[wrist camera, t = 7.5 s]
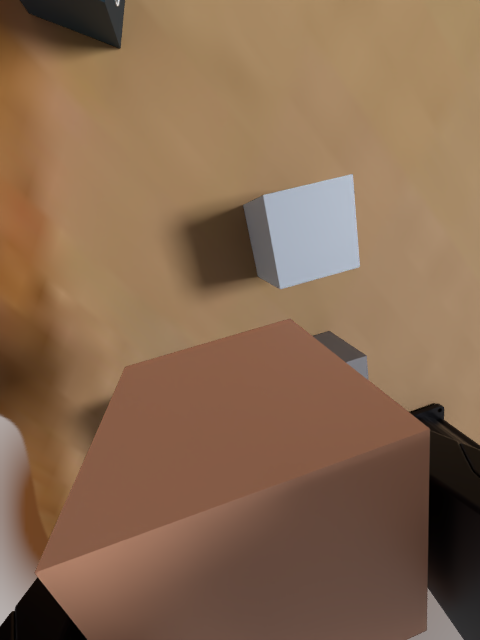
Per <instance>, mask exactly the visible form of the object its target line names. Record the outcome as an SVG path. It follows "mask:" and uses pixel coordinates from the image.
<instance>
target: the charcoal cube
mask: <svg viewBox="0 0 480 640" xmlns="http://www.w3.org/2000/svg"><path fill="white" fill-rule="evenodd" d="M313 337H314V338H315V339H317V340H318V341H319V342H321V343H322V344H323V345H324V346H326V347H327V348H328V349H329V350H331V351H332V352H333V353H334V354H336V355H337V356H338V357H340V358H341V359H342V360H343V361H345V362H346V363H347V364H348V365H350V366H351V367H352V368H354V369H355V370H356V371H357V372H359V373H360V374H361V375H362V376H364V377H365V378H366V379H367V380H368V368H367V356H366V355H365V354H363V353H362V352H360V351H359V350H357V349H356V348H354V347H353V346H351V345H350V344H348V343H347V342H345V341H344V340H342V339H341V338H339V337H338V336H336V335H335V334H333V333H332V332H330V331H327V332H324V333H321V334H318V335H314V336H313Z"/></svg>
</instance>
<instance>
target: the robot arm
mask: <svg viewBox="0 0 480 640" xmlns="http://www.w3.org/2000/svg"><path fill="white" fill-rule="evenodd" d="M411 414H412V415H413V416H414V417H416V418H417V419H418V420H419V421H421V422H422V423H423V424H424V425H426V426H427V427H428V428H430V459H429V522H428V584H427V587H428V589H429V590H430V591H431V593H432V595H433V596H434V597H435V599H436V600H437V602H438V603H439V605H440V606H441V607H442V609H443V610H444V612H445V613H446V615H447V616H448V617H449V619H450V620H451V622H452V623H453V625H454V626H455V628H456V629H457V630H458V632H459V633H460V635H461V636H462V638H463V639H464V640H480V445H478V444H477V443H476V442H474V441H473V440H471V439H470V438H469V437H467V436H466V435H464V434H463V433H462V432H460V431H459V430H457V429H456V428H455V427H453V426H452V425H450V424H449V423H448V422H446V421H445V420H444V407H443V406H442V405H440V404H435V405H432V406H429V407H426V408H424V409H421V410H418V411H415V412H412V413H411ZM0 640H87V638H86V637H85V636H84V635H83V633H82V632H81V631H80V630H79V628H78V627H77V626H76V625H75V623H74V622H73V621H72V620H71V618H70V617H69V616H68V615H67V613H66V612H65V611H64V610H63V608H62V607H61V606H60V604H59V603H58V602H57V601H56V599H55V598H54V597H53V596H52V594H51V593H50V592H49V591H48V589H47V588H46V587H45V586H44V584H43V583H42V582H41V581H40V579H39V578H38V577H37V579H36V580H35V581H34V583H33V584H32V586H31V587H30V588H29V590H28V591H27V592H26V593H25V595H24V596H23V597H22V599H21V600H20V601H19V603H18V604H17V605H16V607H15V611H12V612H11V613H10V614H9V616H8V617H7V618H6V619H5V621H4V622H3V623H2V625H1V626H0Z"/></svg>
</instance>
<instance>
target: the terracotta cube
mask: <svg viewBox="0 0 480 640" xmlns="http://www.w3.org/2000/svg"><path fill="white" fill-rule="evenodd" d="M429 459H430V428H428V427H427V426H426V425H424V424H423V423H422V422H421V421H419V420H418V419H417V418H416V417H414V416H413V415H412V414H411V413H409V412H408V411H407V410H405V409H404V408H403V407H402V406H400V405H399V404H398V403H397V402H395V401H394V400H393V399H392V398H390V397H389V396H388V395H386V394H385V393H384V392H383V391H381V390H380V389H379V388H378V387H376V386H375V385H374V384H373V383H371V382H370V381H369V380H367V379H366V378H365V377H364V376H362V375H361V374H360V373H359V372H357V371H356V370H355V369H354V368H352V367H351V366H350V365H348V364H347V363H346V362H345V361H343V360H342V359H341V358H340V357H338V356H337V355H336V354H334V353H333V352H332V351H331V350H329V349H328V348H327V347H326V346H324V345H323V344H322V343H321V342H319V341H318V340H317V339H315V338H314V337H313V336H312V335H310V334H309V333H308V332H307V331H305V330H304V329H303V328H302V327H300V326H299V325H298V324H296V323H295V322H294V321H293V320H291V319H287V320H283V321H280V322H276V323H273V324H270V325H266V326H263V327H259V328H256V329H252V330H249V331H246V332H242V333H239V334H235V335H232V336H229V337H225V338H222V339H218V340H215V341H211V342H208V343H205V344H201V345H198V346H194V347H191V348H187V349H184V350H181V351H177V352H174V353H170V354H167V355H164V356H160V357H157V358H153V359H150V360H146V361H143V362H140V363H136V364H133V365H129V366H126V367H125V368H124V371H123V373H122V375H121V377H120V380H119V382H118V384H117V387H116V389H115V391H114V393H113V396H112V398H111V400H110V402H109V405H108V407H107V409H106V412H105V414H104V416H103V418H102V421H101V423H100V425H99V427H98V430H97V432H96V434H95V437H94V439H93V441H92V443H91V446H90V448H89V450H88V452H87V455H86V457H85V459H84V462H83V464H82V466H81V468H80V471H79V473H78V475H77V477H76V480H75V482H74V484H73V486H72V489H71V491H70V493H69V496H68V498H67V500H66V502H65V505H64V507H63V509H62V511H61V514H60V516H59V518H58V521H57V523H56V525H55V527H54V530H53V532H52V534H51V536H50V539H49V541H48V543H47V546H46V548H45V550H44V553H43V555H42V557H41V559H40V562H39V564H38V566H37V568H36V571H35V574H36V575H37V577H38V578H39V579H40V581H41V582H42V583H43V584H44V586H45V587H46V588H47V589H48V591H49V592H50V593H51V594H52V596H53V597H54V598H55V599H56V601H57V602H58V603H59V604H60V606H61V607H62V608H63V610H64V611H65V612H66V613H67V615H68V616H69V617H70V618H71V620H72V621H73V622H74V623H75V625H76V626H77V627H78V628H79V630H80V631H81V632H82V633H83V635H84V636H85V637H86V638H87V640H407V639H409V638H411V637H414V636H416V635H418V634H420V633H422V632H425V631H426V630H427V584H428V522H429Z"/></svg>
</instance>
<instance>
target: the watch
mask: <svg viewBox="0 0 480 640" xmlns="http://www.w3.org/2000/svg"><path fill="white" fill-rule="evenodd" d="M20 1H21V3H22V4H23V6H24V7H25V8H26V10H27V11H28V13H29V14H32V15H34V16H37V17H40V18H42V19H45V20H47V21H50V22H53V23H55V24H58V25H60V26H63V27H66V28H68V29H71V30H73V31H76V32H79V33H81V34H84V35H86V36H89V37H92V38H94V39H97V40H99V41H102V42H105V43H107V44H110V45H112V46H115V47H118V48H120V47H121V37H122V26H123V15H124V5H125V0H20Z"/></svg>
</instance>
